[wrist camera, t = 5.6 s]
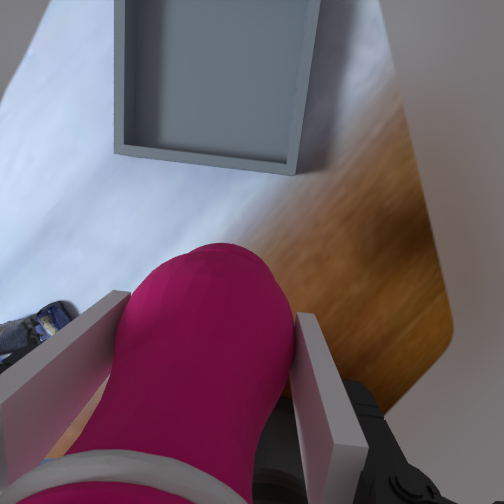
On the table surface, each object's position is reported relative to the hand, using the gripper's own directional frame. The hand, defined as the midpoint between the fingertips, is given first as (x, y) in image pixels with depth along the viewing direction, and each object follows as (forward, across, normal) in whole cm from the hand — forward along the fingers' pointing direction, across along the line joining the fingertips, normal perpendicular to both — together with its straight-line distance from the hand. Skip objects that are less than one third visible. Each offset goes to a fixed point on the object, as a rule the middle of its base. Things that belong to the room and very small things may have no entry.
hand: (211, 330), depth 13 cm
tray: (+16, +3, -15) cm, 22 cm away
